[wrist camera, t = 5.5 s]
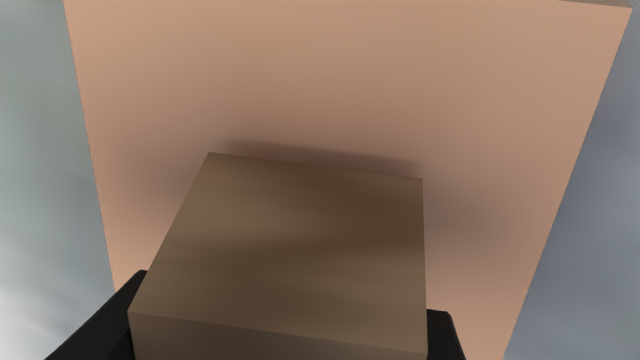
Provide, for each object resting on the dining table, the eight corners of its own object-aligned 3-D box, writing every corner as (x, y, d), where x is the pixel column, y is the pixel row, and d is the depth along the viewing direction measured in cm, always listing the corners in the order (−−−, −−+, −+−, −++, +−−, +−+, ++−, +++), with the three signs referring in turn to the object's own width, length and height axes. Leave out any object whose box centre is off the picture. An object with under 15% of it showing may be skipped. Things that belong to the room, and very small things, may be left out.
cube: (422, 178, 14) (427, 353, 10) (392, 325, 17) (386, 507, 13) (208, 151, 14) (126, 311, 10) (215, 300, 17) (154, 471, 13)
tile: (619, -7, 13) (633, 8, 12) (489, 357, 20) (493, 383, 19) (74, -64, 14) (53, -53, 13) (133, 307, 20) (122, 329, 20)
